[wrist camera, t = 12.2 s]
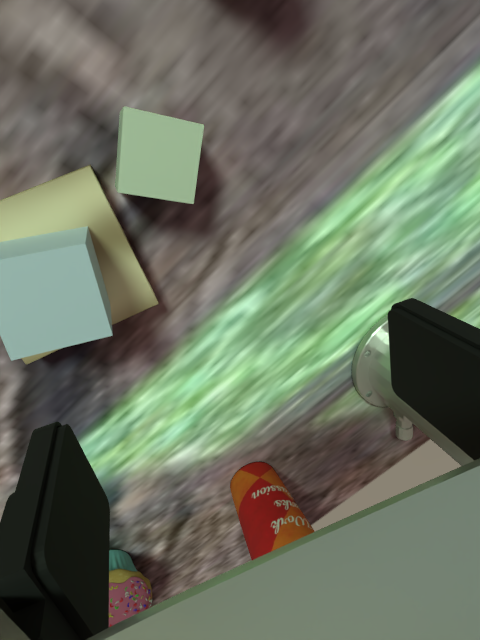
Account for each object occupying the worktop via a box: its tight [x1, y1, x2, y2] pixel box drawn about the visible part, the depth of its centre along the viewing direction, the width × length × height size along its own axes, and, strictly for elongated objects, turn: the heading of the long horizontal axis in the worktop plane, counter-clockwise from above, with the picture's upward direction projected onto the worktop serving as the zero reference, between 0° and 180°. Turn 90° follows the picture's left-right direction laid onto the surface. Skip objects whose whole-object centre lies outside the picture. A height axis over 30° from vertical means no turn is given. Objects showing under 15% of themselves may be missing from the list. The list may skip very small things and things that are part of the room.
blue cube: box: [0, 226, 113, 361], centre depth 26 cm, size 6×6×6 cm
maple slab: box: [0, 165, 159, 364], centre depth 30 cm, size 11×11×3 cm
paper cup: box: [230, 462, 314, 560], centre depth 40 cm, size 8×8×14 cm
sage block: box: [115, 107, 204, 204], centre depth 28 cm, size 5×5×5 cm
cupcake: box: [109, 550, 152, 627], centre depth 39 cm, size 9×8×12 cm
